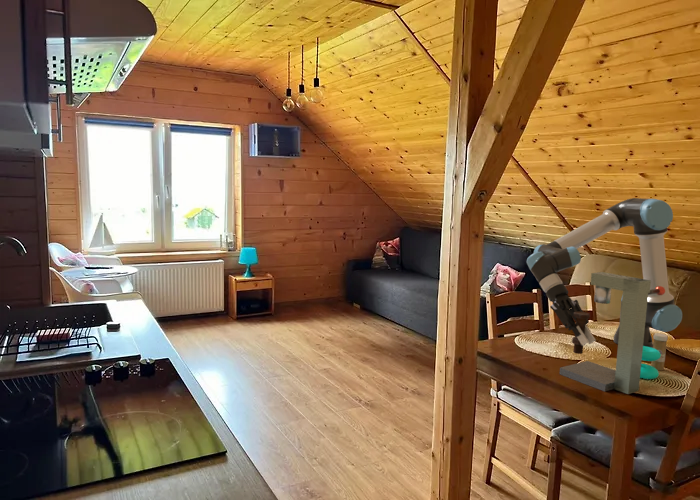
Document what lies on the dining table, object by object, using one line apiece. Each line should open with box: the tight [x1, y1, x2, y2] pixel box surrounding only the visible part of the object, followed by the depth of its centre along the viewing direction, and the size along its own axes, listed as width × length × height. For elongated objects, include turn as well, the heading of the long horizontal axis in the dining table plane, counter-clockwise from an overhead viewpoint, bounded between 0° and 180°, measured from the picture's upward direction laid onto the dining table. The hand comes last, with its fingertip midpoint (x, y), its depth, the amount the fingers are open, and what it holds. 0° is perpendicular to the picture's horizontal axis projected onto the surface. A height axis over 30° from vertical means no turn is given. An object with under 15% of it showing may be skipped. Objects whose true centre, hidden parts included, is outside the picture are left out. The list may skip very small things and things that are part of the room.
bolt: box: [571, 311, 591, 355], centre depth 192 cm, size 6×5×15 cm
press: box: [559, 271, 665, 395], centre depth 186 cm, size 24×24×38 cm
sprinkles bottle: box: [650, 332, 669, 371], centre depth 199 cm, size 5×5×13 cm
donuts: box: [640, 346, 661, 380], centre depth 192 cm, size 10×10×10 cm
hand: (589, 342), depth 189 cm, fingers closed on bolt, 3 cm apart
